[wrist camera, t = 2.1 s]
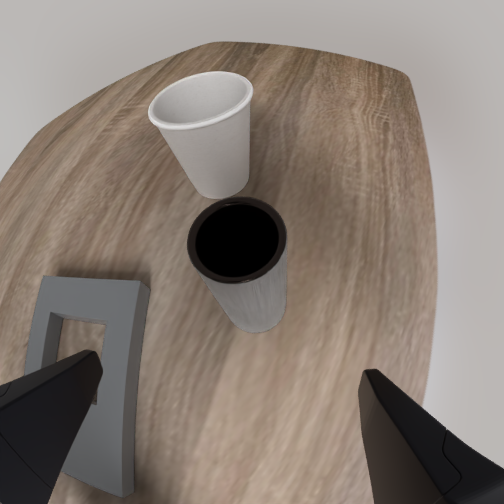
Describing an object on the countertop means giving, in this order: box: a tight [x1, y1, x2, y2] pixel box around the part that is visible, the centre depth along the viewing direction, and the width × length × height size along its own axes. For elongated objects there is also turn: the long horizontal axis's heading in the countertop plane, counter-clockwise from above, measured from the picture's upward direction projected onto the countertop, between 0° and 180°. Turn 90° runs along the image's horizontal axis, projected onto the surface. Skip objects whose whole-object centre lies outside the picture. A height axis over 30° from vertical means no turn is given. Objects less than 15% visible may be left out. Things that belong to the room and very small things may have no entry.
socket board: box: [24, 276, 150, 498], centre depth 19 cm, size 18×12×2 cm, turn 178°
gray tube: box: [187, 197, 287, 333], centre depth 17 cm, size 4×4×10 cm
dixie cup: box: [148, 71, 253, 199], centre depth 24 cm, size 8×8×10 cm
